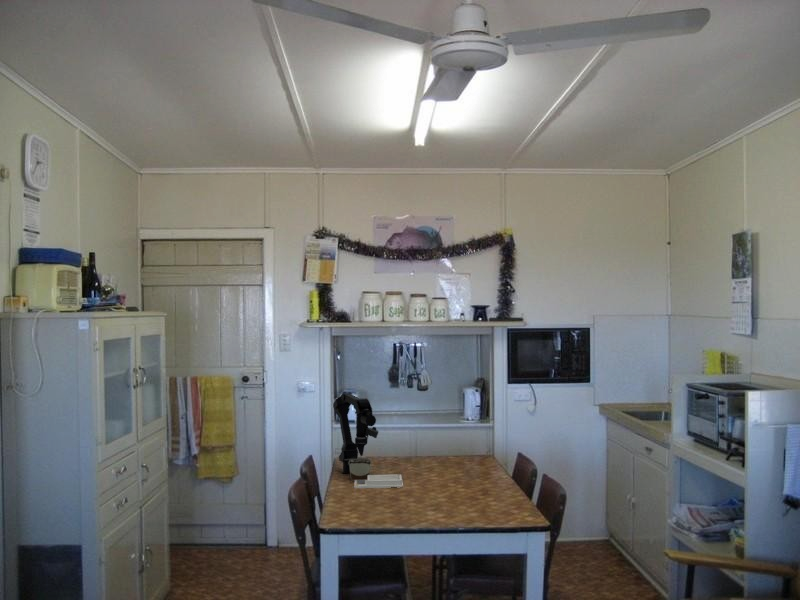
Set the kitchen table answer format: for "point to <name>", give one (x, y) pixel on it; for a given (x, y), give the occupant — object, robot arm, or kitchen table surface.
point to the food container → (359, 468)
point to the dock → (380, 481)
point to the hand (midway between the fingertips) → (361, 453)
